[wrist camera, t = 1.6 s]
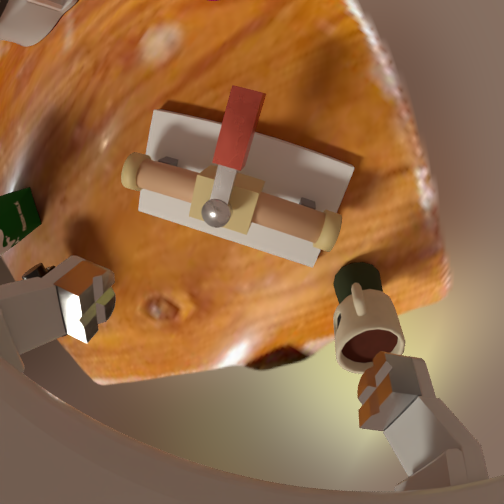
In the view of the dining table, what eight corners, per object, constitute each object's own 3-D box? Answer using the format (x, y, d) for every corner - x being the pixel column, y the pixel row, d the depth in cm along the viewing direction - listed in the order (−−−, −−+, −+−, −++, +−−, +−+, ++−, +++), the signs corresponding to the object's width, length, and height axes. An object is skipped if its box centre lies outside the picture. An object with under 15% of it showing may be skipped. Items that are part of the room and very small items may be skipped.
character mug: (318, 252, 37) (321, 323, 25) (372, 235, 34) (399, 301, 23) (341, 316, 41) (347, 390, 29) (388, 302, 38) (408, 374, 27)
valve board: (159, 109, 31) (121, 114, 24) (352, 165, 31) (366, 184, 24) (143, 206, 37) (110, 232, 30) (312, 261, 37) (313, 301, 30)
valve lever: (236, 86, 22) (231, 85, 20) (267, 94, 22) (264, 93, 20) (203, 216, 28) (197, 224, 26) (230, 224, 28) (224, 233, 26)
